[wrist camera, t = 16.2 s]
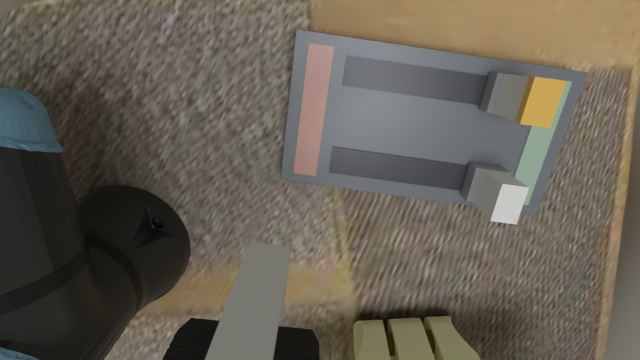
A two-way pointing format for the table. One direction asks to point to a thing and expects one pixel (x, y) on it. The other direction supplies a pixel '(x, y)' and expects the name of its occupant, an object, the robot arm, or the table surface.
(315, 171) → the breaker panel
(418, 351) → the slatted curved stool
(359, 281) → the table surface
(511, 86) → the handle
